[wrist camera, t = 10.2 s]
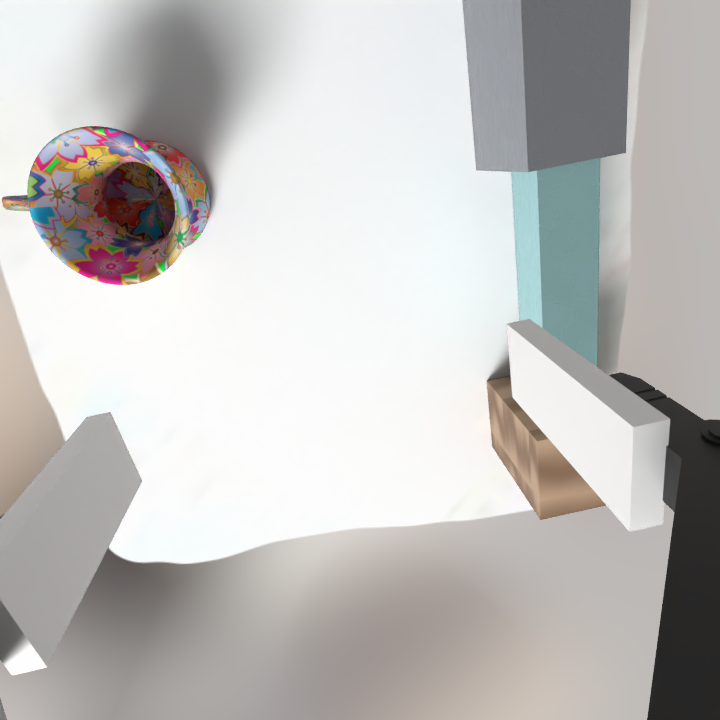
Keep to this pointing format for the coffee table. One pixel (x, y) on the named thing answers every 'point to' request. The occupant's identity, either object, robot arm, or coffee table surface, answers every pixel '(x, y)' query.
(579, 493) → the socket
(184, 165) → the mug
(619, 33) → the sleeve
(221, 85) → the coffee table surface
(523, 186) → the teal square bar
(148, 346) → the coffee table surface
